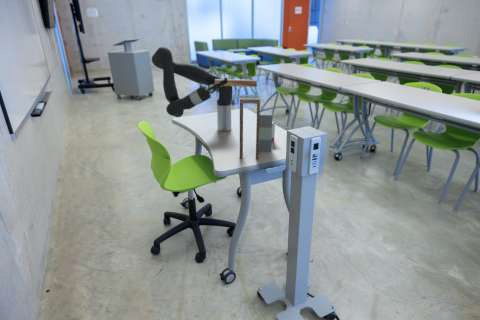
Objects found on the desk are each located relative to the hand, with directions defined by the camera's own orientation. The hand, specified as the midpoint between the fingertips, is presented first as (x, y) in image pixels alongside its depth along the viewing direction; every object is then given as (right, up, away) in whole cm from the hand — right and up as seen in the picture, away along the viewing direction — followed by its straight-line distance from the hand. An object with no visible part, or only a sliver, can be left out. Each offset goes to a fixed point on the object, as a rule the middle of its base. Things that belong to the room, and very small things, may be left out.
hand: (227, 79), depth 162 cm
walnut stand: (+12, -40, +5) cm, 42 cm away
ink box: (+23, -30, +28) cm, 47 cm away
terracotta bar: (+5, -3, +1) cm, 5 cm away
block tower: (+20, -36, +15) cm, 44 cm away
